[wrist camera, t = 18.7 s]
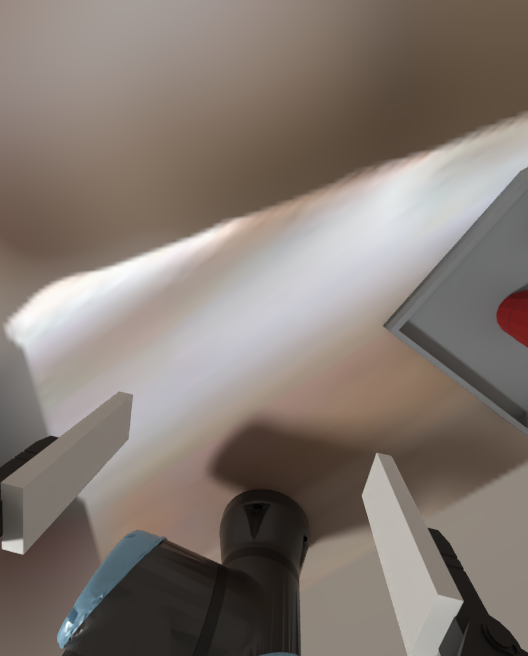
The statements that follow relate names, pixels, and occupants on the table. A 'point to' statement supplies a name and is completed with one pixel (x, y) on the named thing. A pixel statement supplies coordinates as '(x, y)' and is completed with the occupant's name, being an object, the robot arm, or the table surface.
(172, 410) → the table surface
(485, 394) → the grey tray
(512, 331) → the plastic cup
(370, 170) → the table surface
